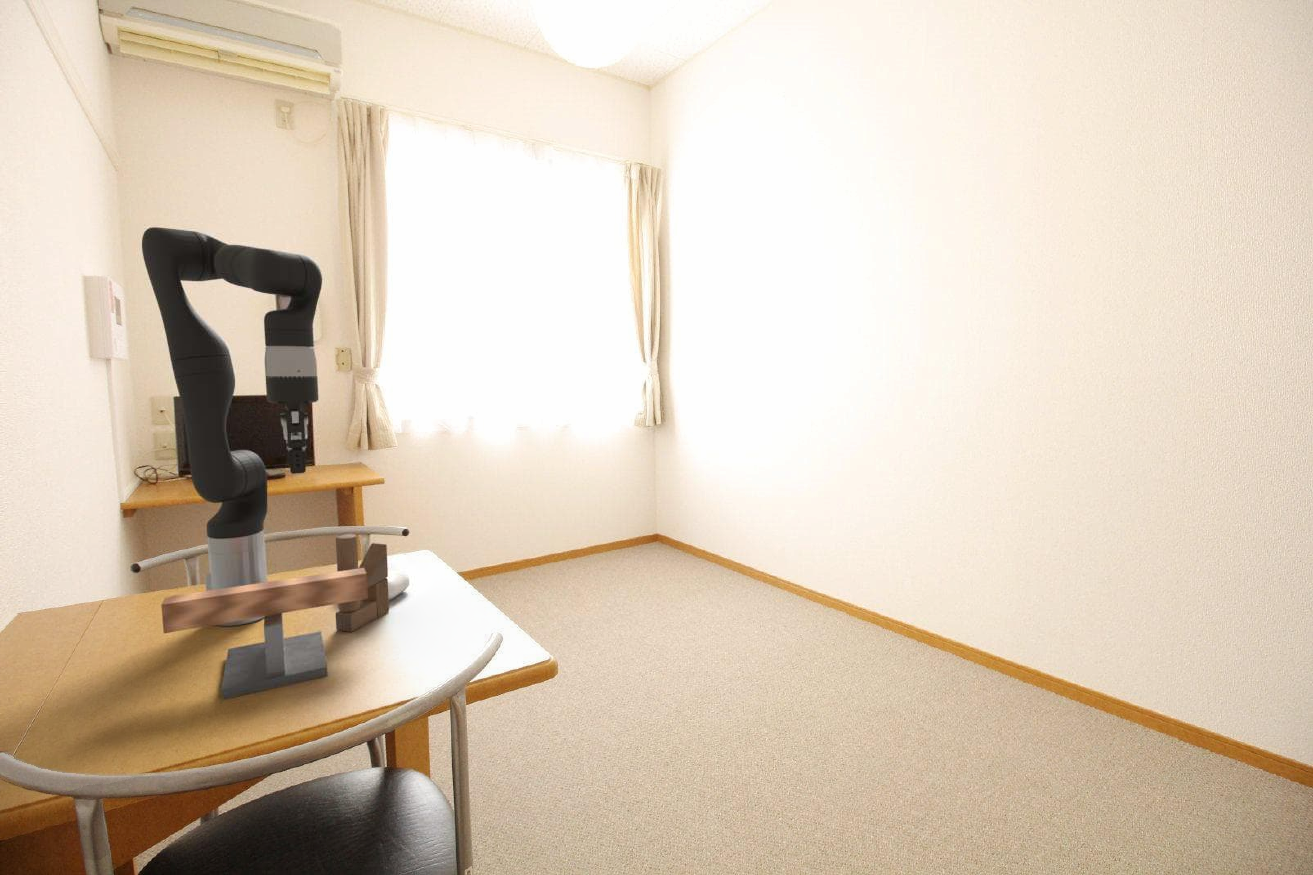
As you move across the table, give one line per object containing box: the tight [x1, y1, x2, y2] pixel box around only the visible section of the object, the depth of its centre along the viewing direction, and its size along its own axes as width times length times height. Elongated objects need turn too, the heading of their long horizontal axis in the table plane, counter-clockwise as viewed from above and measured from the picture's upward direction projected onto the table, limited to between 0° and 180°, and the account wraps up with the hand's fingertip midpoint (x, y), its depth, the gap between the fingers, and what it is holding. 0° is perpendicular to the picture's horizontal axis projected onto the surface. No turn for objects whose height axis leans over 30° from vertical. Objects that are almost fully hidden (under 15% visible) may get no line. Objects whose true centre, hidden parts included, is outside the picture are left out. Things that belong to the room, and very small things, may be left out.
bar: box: [160, 567, 368, 634], centre depth 101 cm, size 28×4×4 cm, turn 122°
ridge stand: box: [220, 613, 329, 700], centre depth 102 cm, size 16×14×10 cm
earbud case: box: [360, 569, 410, 602], centre depth 135 cm, size 10×13×5 cm
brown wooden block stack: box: [335, 533, 390, 633], centre depth 120 cm, size 4×11×18 cm, turn 165°
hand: (297, 469), depth 105 cm, fingers open, 8 cm apart
